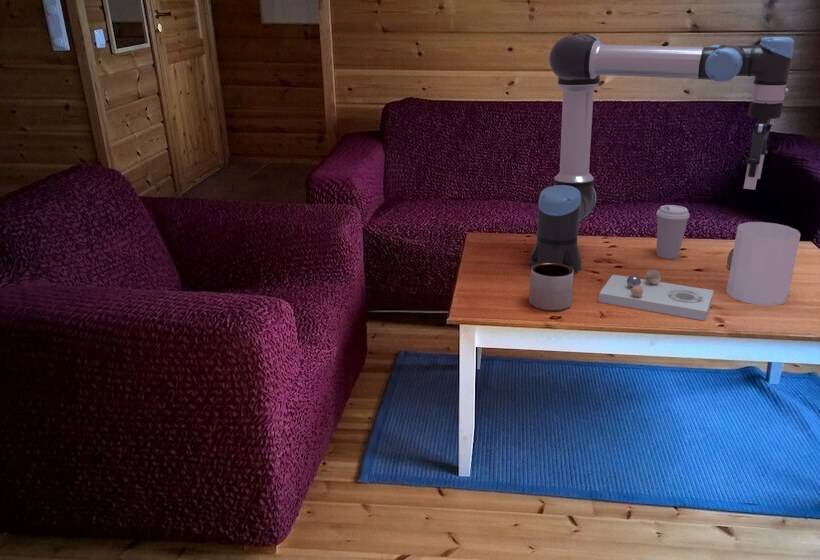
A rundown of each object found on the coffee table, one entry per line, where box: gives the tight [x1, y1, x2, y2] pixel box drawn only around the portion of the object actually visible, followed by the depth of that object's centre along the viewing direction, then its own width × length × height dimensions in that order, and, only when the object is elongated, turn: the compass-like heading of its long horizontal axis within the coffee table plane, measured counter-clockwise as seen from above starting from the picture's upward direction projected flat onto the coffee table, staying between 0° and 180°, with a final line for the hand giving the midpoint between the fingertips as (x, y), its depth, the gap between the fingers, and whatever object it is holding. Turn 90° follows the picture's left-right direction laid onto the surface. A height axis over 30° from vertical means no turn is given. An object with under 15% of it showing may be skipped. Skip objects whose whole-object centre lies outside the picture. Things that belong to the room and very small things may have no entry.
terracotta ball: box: [631, 285, 643, 297], centre depth 171 cm, size 3×3×3 cm
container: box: [725, 221, 801, 307], centre depth 175 cm, size 14×14×18 cm
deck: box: [598, 274, 715, 322], centre depth 175 cm, size 26×15×2 cm, turn 61°
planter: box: [528, 262, 575, 312], centre depth 173 cm, size 11×11×10 cm
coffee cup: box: [655, 204, 691, 260], centre depth 205 cm, size 10×10×15 cm
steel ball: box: [627, 274, 641, 288], centre depth 177 cm, size 4×4×4 cm
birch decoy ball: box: [644, 268, 662, 284], centre depth 179 cm, size 4×4×4 cm
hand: (752, 183), depth 179 cm, fingers open, 13 cm apart
